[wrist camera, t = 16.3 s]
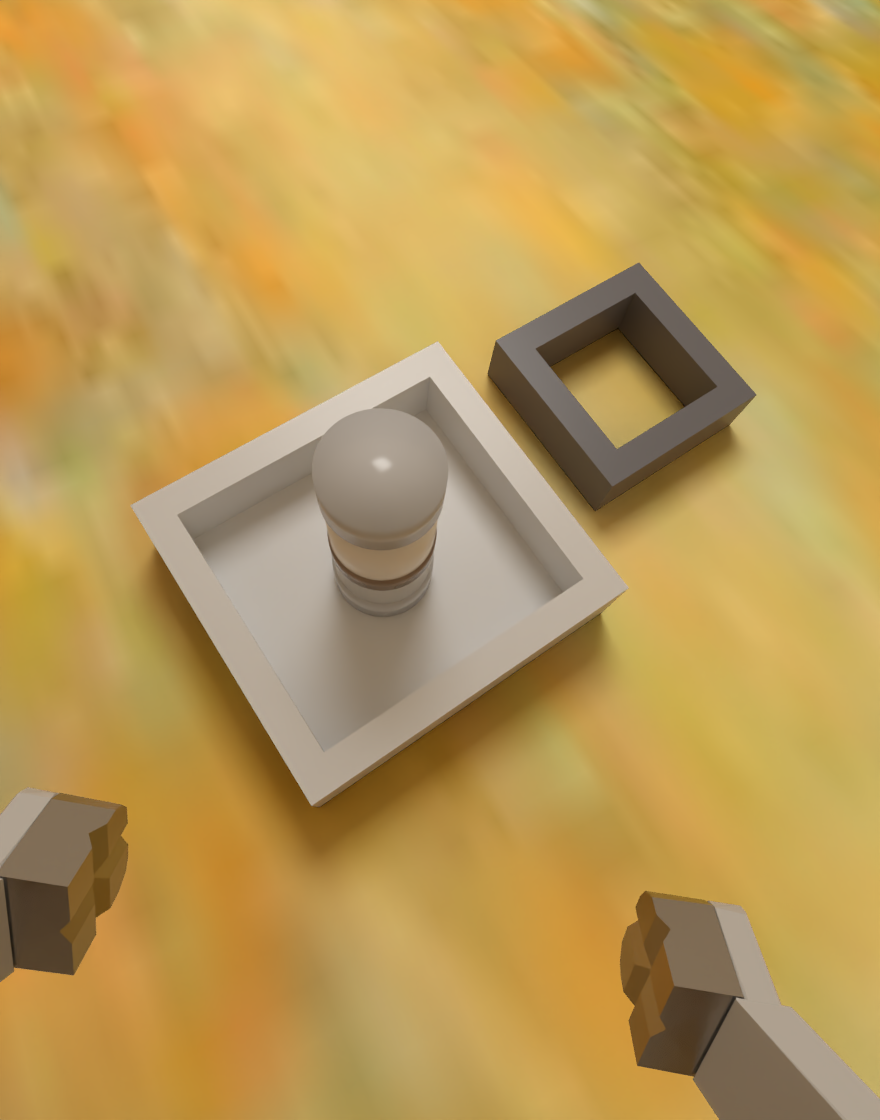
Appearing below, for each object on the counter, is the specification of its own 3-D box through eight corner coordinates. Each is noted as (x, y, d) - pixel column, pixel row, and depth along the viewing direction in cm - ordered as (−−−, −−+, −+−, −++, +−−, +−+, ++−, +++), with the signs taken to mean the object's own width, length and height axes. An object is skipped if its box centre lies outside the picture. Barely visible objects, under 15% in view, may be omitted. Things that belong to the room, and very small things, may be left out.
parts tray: (319, 807, 27) (311, 806, 24) (157, 539, 30) (130, 505, 27) (601, 612, 30) (628, 587, 27) (431, 388, 33) (438, 341, 30)
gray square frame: (595, 510, 32) (612, 486, 29) (487, 373, 34) (495, 340, 31) (730, 424, 34) (756, 394, 31) (621, 299, 36) (638, 262, 33)
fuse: (372, 636, 28) (365, 558, 20) (315, 560, 29) (285, 453, 21) (450, 579, 29) (475, 481, 21) (393, 507, 30) (394, 385, 22)
